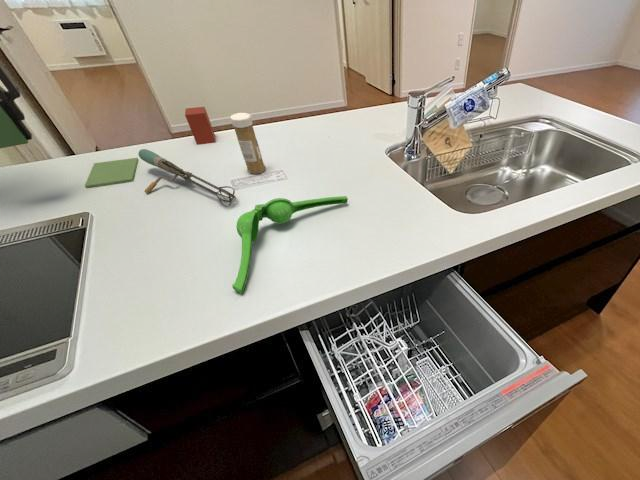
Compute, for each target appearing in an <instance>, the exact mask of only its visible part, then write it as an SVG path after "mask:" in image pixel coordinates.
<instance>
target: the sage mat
mask: <svg viewBox="0 0 640 480" xmlns="http://www.w3.org/2000/svg"><path fill="white" fill-rule="evenodd" d="M138 163H139V158H138V157H132V158H131V157H130V158H125V159H115V160H110V161H109V160H108V161H102V162H101V161H100V162H93V164H92V167H91V170H90V173H89V175H88V177H87V179H86V182H85V183H84V187H85V188H86V189H88V188H89V189H90V188H96V187H102V186H103V187H104V186H109V185H116V184H117V185H118V184H123V183H130V182H134V179H135V175H136V173H137V168H138Z"/></svg>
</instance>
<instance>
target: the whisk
mask: <svg viewBox="0 0 640 480" xmlns="http://www.w3.org/2000/svg"><path fill="white" fill-rule="evenodd" d="M138 157H139V158H140V159H141V160H142V161H144V162H145V163H147V164H149V165H151V166H153V167H157V168H158V169H160V170H163V171H165V172H167V173H170V174H172V175H173V176H172V177H171V178H169V177H166V176H164V175H160V176H158V177H157V178H156V180H155V181H152V182H151V183H150V184H149V185H148V186H147V187H146V188H145V190H144V192H145V193H146V194H150V193H151V192H152V191H153V190H154V188H155V187H156V186H157V185H158V183H159V182H160V181H161V180H162V179H163V180H165V181H167V182H169V183H171V182H173V181H174V180H175V179H176V178H177V177H180V178H181V179H183V180H184V181H185V182H188V183H190V184H193V185H194V186H196V187H198V188H201V189H203V190H204V191H206V192H208V193H211V194H212V195H214V196H216V198H217V199H218V201H219V202H220V203H221V205H222V206H224V207H226V208H227V207H229V208H230V207H231V205H232V203H234V202H235V200H236V199H237V196H236V195H235V193H236V192H235V191H236V190H235V188H234V187H231V186H228V185H227V186H217V185H215V184H213V183H211V182H208V181H207V180H205V179H203V178H200V177H199V176H197V175H194V174H193V172H190V171H187V170H186V171H185V170H184V169H182V168H180V167H179V166H177V165H176V164H175V163H174V162H171V161H170V160H167V159H166V158H164V157H162V156H160V155H159V154H158V153H156V152H154V151H153V150H149V149H146V148H141V149H140V150H139V151H138ZM192 178H194V179H196V180H197V181H199V182H202V183H203V184H205V185H208V186H209V187H212V188H213V189H216V190H217V191H214V190H212V189H211V188H209V187H207V186H205V185H203V184H201V183H199V182H197V181H195V180H193V179H192ZM225 188H226V189H225ZM227 188H230V189H232V191H233V192H232V193H231V192H230V191H228V190H227ZM222 193H223V194H222ZM224 202H225V203H229V204H228V205H226V204H225V203H224Z"/></svg>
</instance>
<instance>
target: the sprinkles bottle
mask: <svg viewBox="0 0 640 480" xmlns="http://www.w3.org/2000/svg"><path fill="white" fill-rule="evenodd" d="M230 122H231V125H232V127H233V129H234V131H235V135H236V139H237V142H238V145H239V148H240V151H241V154H242V157H243V161H244V163H245V165H246V169H247V172H248V173H249V174H253V175H255V174H256V175H258V174H261V173H264V171H266V166H265V164H264V160H263V156H262V152H261V149H260V145H259V142H258V138H257V136H256V133H255V130H254V126H253V125H254V124H253V119H252V115H251V114H249V113H247V112H237V113H233V114H231V115H230Z"/></svg>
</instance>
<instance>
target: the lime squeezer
mask: <svg viewBox="0 0 640 480" xmlns="http://www.w3.org/2000/svg"><path fill="white" fill-rule="evenodd" d="M348 201H349V198H348V196H346V195H341V196H330V197H320V198H313V199H305V200H299V201H291V200H289V199H288V198H285V197H277V198H273V199H271V200H269V201H267V202H265V203H261V204H255V205H254V208H253V209H252V210H250V211H247V212H244V213H242V214H241V215H240V216H239V217H238V219H237V221H236V225H235V226H236V231H237V234H238V236H239V237H240V238H241V257H240V264H239V269H238V273H237V276H236V279H235V282H234V283H233V284H232V289H233V290H234V291H235V292H237V293H239V294H240V295H243V293H244V291H245V288H246V284H247V280H248V276H249V271H250V265H251V260H252V259H251V258H252V251H253V244H255V243H256V241H257V238H258V234H259V226H260V225H259V224H260V222H261V221H263V220H264V219H265V218H266V219H268V220H270V221H271V222H273V223H275V224H279V225H281V224H285V223H287V222H289V221H290V220H291V218H292V216H293V215H294V213H297V212H301V211H304V210H309V209H312V208H318V207H323V206H331V205H342V204H348Z"/></svg>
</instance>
